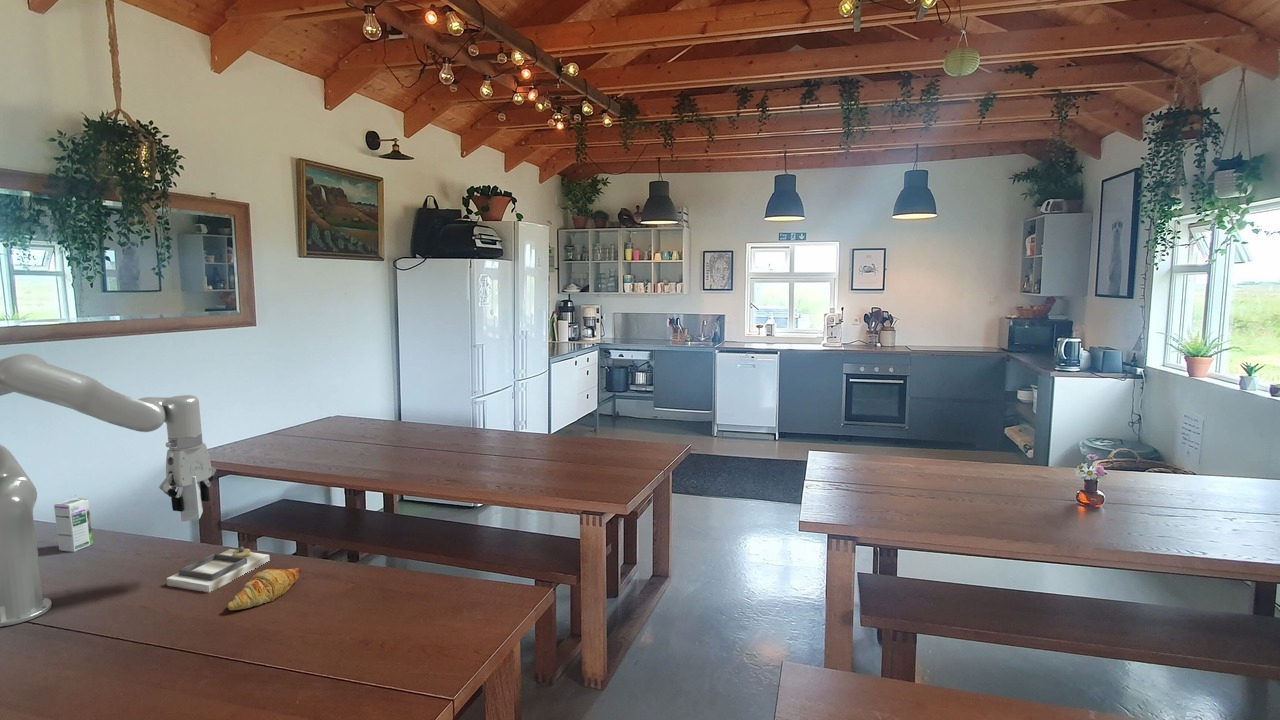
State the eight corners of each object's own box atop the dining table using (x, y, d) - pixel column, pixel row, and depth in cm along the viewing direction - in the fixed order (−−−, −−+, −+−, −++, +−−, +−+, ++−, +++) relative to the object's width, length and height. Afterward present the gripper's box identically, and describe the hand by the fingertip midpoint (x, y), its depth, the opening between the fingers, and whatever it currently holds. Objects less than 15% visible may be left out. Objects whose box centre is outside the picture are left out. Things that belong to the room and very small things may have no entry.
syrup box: (74, 552, 197) (69, 505, 195) (58, 550, 198) (53, 503, 197) (93, 544, 203) (89, 498, 201) (77, 543, 204) (73, 497, 202)
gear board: (209, 592, 174) (208, 576, 174) (167, 585, 178) (165, 569, 177) (269, 561, 194) (268, 546, 193) (230, 555, 197) (229, 540, 197)
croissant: (238, 629, 164) (248, 605, 161) (210, 605, 166) (219, 581, 163) (307, 590, 183) (317, 568, 181) (281, 568, 185) (290, 546, 183)
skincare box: (184, 514, 183) (180, 472, 181) (203, 512, 185) (199, 470, 183) (180, 522, 178) (176, 478, 176) (199, 519, 179) (195, 476, 178)
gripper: (166, 451, 169) (173, 518, 172) (224, 434, 186) (229, 496, 188) (143, 449, 171) (150, 515, 173) (202, 433, 188) (207, 494, 190)
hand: (191, 505), depth 181 cm, fingers closed on skincare box, 7 cm apart
